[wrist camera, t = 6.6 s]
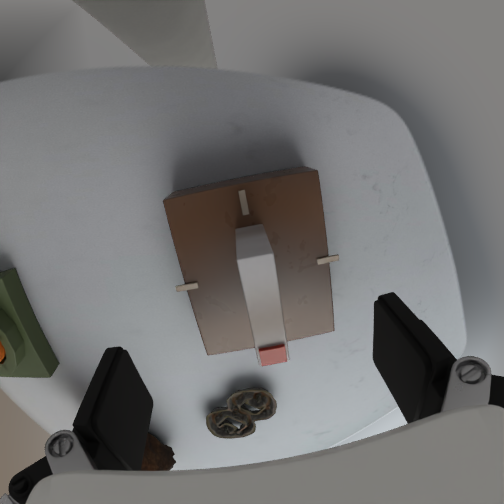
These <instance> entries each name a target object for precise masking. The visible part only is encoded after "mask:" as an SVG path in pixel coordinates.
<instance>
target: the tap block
mask: <svg viewBox="0 0 504 504" xmlns="http://www.w3.org/2000/svg"><path fill="white" fill-rule="evenodd" d="M163 203H164V207H165V211H166V215H167V219H168V223H169V227H170V230H171V234H172V238H173V242H174V246H175V249H176V253H177V257H178V260H179V264H180V267H181V271H182V274H183V278H184V281H185V284H183V285H178V286H176V290H177V292H179V291H185V290H187V292H188V295H189V298H190V302H191V305H192V308H193V312H194V315H195V318H196V321H197V324H198V328H199V331H200V334H201V337H202V340H203V343H204V346H205V349H206V352H207V355H214V354H221V353H227V352H233V351H239V350H245V349H250V348H255V345H254V340H253V335H252V331H251V326H250V321H249V317H248V312H247V307H246V303H245V298H244V293H243V288H242V283H241V279H240V274H239V269H238V264H237V256H236V234H235V229H237V228H242V227H248V226H253V225H259V224H263V226H264V229H265V232H266V234H267V237H268V240H269V242H270V245H271V248H272V250H273V253H274V259H275V265H276V272H277V278H278V284H279V291H280V297H281V304H282V311H283V317H284V324H285V331H286V337H287V341H291V340H296V339H301V338H305V337H310V336H314V335H319V334H323V333H327V332H332V331H334V315H333V301H332V289H331V277H330V266H329V262H333V261H338V260H339V255H338V254H337V255H332V256H328V246H327V237H326V228H325V220H324V212H323V204H322V196H321V189H320V182H319V175H318V170H315V169H312V168H309V167H306V166H304V167H297V168H291V169H285V170H279V171H273V172H268V173H262V174H257V175H251V176H246V177H241V178H236V179H231V180H226V181H221V182H216V183H211V184H207V185H202V186H197V187H193V188H188V189H184V190H180V191H175V192H172V193H171V194H170V195H169V196H168V197H166V198H165V199H164V200H163Z"/></svg>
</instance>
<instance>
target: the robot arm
mask: <svg viewBox="0 0 504 504" xmlns="http://www.w3.org/2000/svg"><path fill="white" fill-rule="evenodd" d="M373 360H374V363H375V365H376V367H377V369H378V371H379V372H380V374H381V376H382V378H383V379H384V381H385V383H386V385H387V386H388V388H389V390H390V392H391V394H392V395H393V397H394V399H395V401H396V403H397V404H398V406H399V408H400V410H401V412H402V413H403V415H404V417H405V419H406V421H407V423H408V424H406V425H404V426H401V427H398V428H396V429H393V430H390V431H387V432H383V433H380V434H377V435H374V436H371V437H368V438H365V439H361V440H358V441H355V442H351V443H348V444H344V445H341V446H337V447H333V448H329V449H325V450H321V451H317V452H313V453H308V454H304V455H299V456H294V457H289V458H284V459H278V460H273V461H267V462H261V463H254V464H247V465H239V466H231V467H221V468H210V469H197V470H177V471H141V466H142V460H143V455H144V449H145V444H146V439H147V434H148V429H149V424H150V419H151V414H152V409H153V399H152V397H151V395H150V393H149V391H148V390H147V388H146V386H145V384H144V382H143V380H142V379H141V377H140V375H139V373H138V371H137V369H136V367H135V365H134V363H133V361H132V359H131V357H130V355H129V353H128V352H127V350H123V348H122V347H112V348H107V349H106V350H105V352H104V354H103V356H102V358H101V360H100V363H99V365H98V367H97V369H96V371H95V374H94V376H93V378H92V380H91V382H90V385H89V387H88V389H87V391H86V394H85V396H84V398H83V401H82V403H81V405H80V408H79V410H78V413H77V415H76V417H75V420H74V422H73V426H74V428H73V431H70V430H60V431H58V432H56V433H54V434H53V435H51V436H50V438H49V439H48V440H47V442H46V444H45V454H46V456H45V457H44V458H42V459H40V460H39V461H37V462H35V463H34V464H32V465H30V466H29V467H27V468H26V469H24V470H22V471H21V472H19V473H17V474H16V475H15V476H14V477H13V478H12V479H11V481H10V483H9V495H7V494H6V493H5V494H4V495H3V496H2V497H1V498H0V504H504V377H502V376H496V375H491V368H490V367H489V365H488V364H487V363H486V362H485V361H484V360H482V359H480V358H478V357H474V356H467V357H462V358H460V359H458V360H457V359H456V358H455V357H454V356H453V355H452V353H451V352H450V351H449V350H448V349H447V348H446V346H445V345H444V344H443V343H442V342H441V341H440V340H439V338H438V337H437V336H436V335H435V334H434V333H433V332H432V331H431V329H430V328H429V327H428V326H427V325H426V324H425V323H424V322H423V321H422V320H419V319H418V318H417V317H416V316H415V315H414V313H413V312H412V311H411V310H410V309H409V308H408V307H407V306H406V305H405V304H404V303H403V301H402V300H401V299H400V298H399V297H398V296H397V295H396V294H395V293H394V292H391V293H388V294H384V295H380V296H379V297H378V300H377V301H375V302H374V336H373Z"/></svg>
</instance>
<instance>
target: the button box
mask: <svg viewBox="0 0 504 504" xmlns="http://www.w3.org/2000/svg"><path fill="white" fill-rule="evenodd" d="M0 341H1V343H2V345H3V347H4V349H5V357H4V358H3V359H2V361H1V362H0V377H37V378H48V377H51V376H52V374H53V373H54V371H55V370H56V368H57V367H58V365H59V362H58V360H57V358H56V357H55V355H54V353H53V351H52V349H51V347H50V345H49V343H48V342H47V340H46V338H45V336H44V334H43V332H42V330H41V328H40V325H39V323H38V321H37V319H36V317H35V315H34V313H33V310H32V308H31V306H30V304H29V301H28V299H27V297H26V294H25V292H24V289H23V287H22V285H21V282H20V279H19V277H18V274H17V272H16V269H15V268H13V269H10V270H6V271H3V272H0Z"/></svg>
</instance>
